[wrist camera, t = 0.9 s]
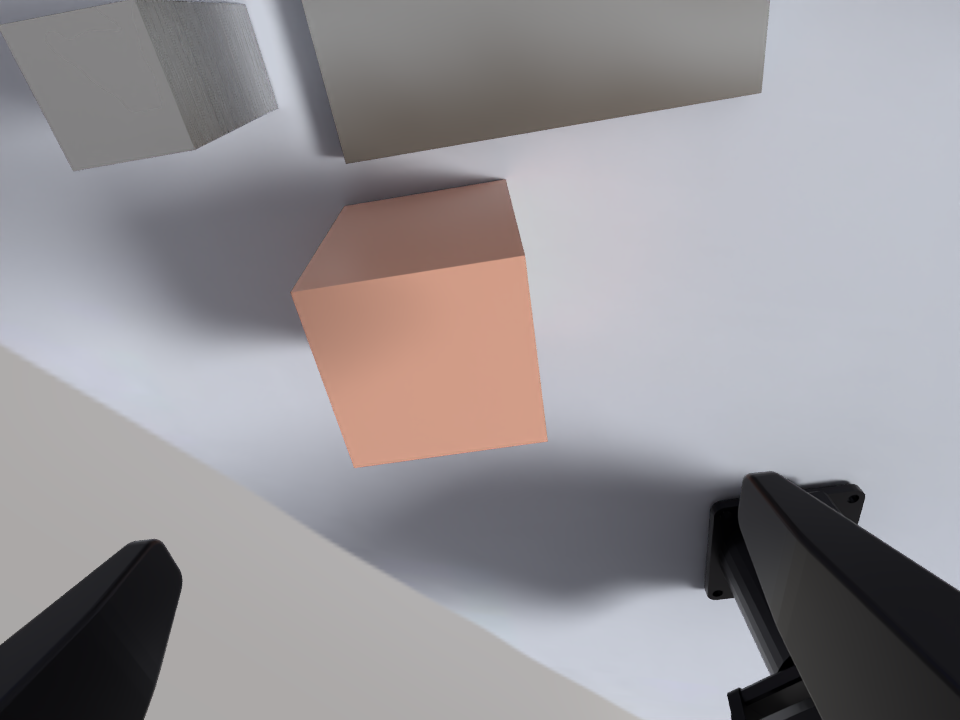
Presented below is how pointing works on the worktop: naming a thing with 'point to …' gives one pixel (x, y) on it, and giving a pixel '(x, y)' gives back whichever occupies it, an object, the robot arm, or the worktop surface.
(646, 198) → the worktop surface
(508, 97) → the plate
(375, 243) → the salmon pink block
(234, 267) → the worktop surface
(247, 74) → the post steel
